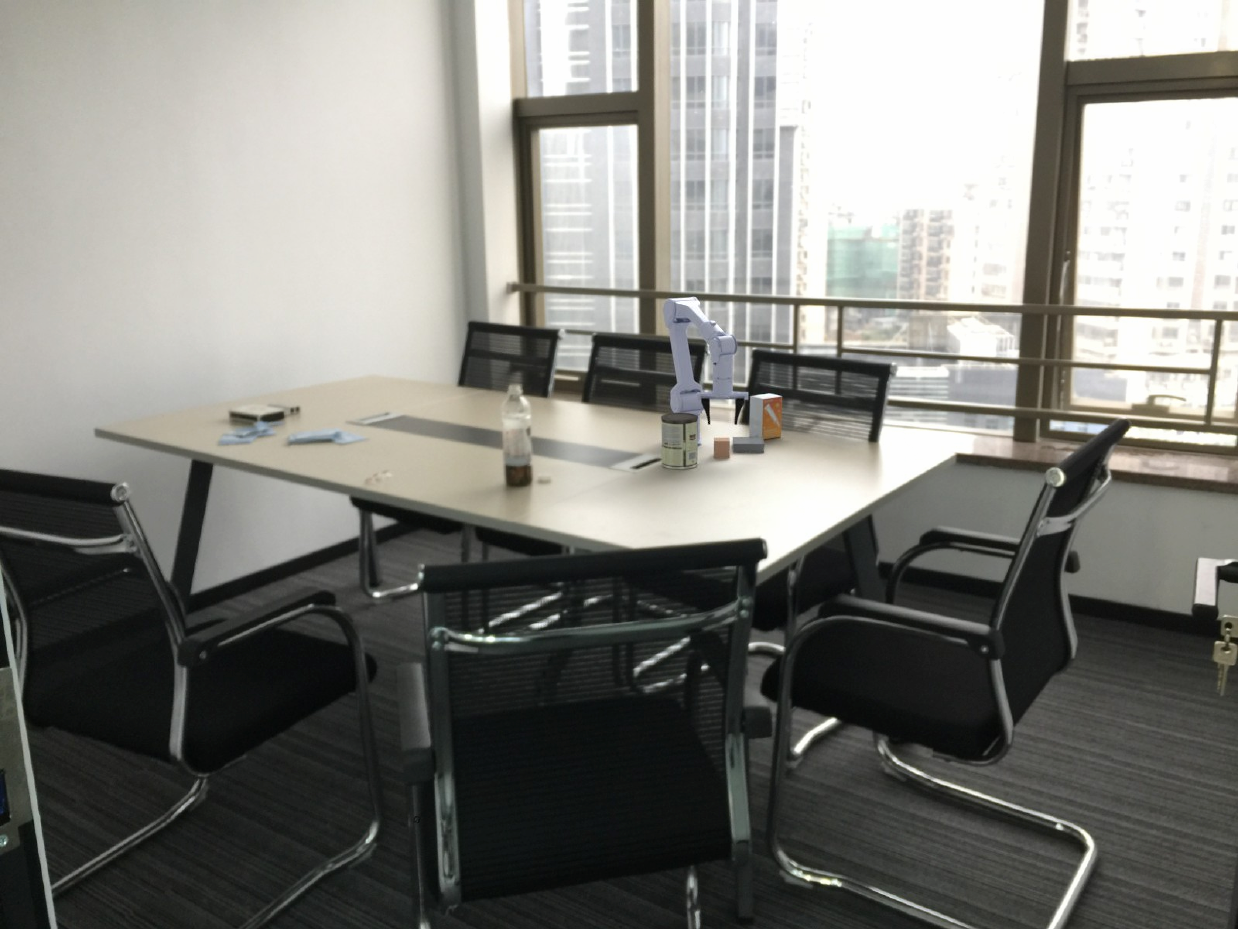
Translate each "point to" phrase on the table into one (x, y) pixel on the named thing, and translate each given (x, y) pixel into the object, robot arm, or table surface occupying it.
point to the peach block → (721, 447)
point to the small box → (765, 416)
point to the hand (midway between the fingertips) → (722, 424)
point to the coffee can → (679, 440)
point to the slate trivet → (748, 444)
